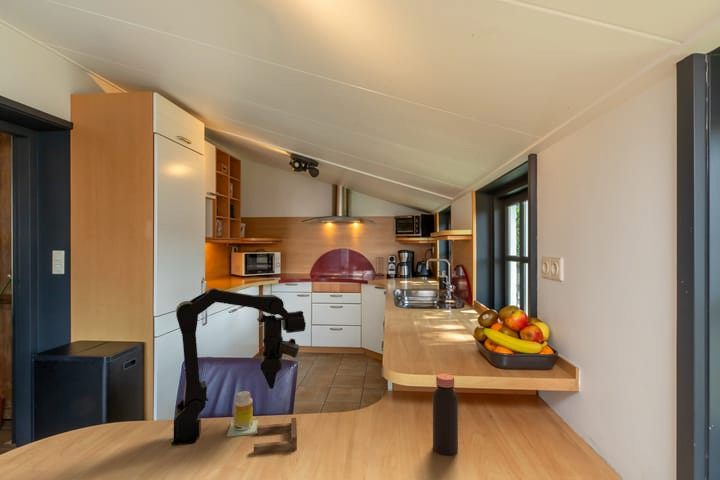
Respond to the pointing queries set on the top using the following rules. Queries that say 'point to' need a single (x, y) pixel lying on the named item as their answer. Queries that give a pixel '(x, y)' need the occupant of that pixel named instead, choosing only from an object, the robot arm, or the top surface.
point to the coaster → (249, 431)
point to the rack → (277, 446)
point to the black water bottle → (445, 416)
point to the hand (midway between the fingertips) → (272, 383)
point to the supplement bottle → (243, 411)
